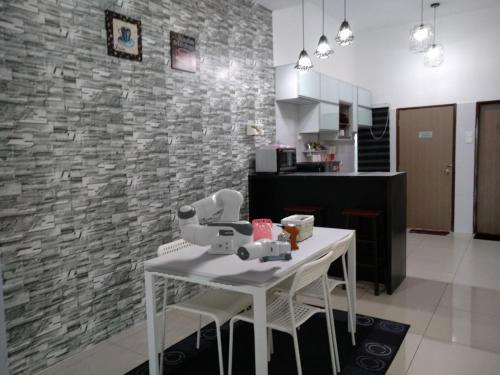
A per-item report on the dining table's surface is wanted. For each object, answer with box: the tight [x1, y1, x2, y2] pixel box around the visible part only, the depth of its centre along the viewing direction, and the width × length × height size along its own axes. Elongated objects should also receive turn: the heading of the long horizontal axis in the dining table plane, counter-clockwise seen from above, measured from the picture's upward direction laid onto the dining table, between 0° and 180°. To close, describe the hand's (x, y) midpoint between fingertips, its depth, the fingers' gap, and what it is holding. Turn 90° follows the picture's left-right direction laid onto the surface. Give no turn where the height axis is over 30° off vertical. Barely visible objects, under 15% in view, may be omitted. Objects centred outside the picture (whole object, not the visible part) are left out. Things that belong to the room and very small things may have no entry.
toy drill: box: [276, 224, 300, 251], centre depth 246 cm, size 5×19×15 cm, turn 44°
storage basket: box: [280, 214, 315, 242], centre depth 273 cm, size 24×16×15 cm
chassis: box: [259, 250, 293, 262], centre depth 225 cm, size 18×14×4 cm
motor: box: [277, 232, 288, 255], centre depth 209 cm, size 5×5×11 cm
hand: (283, 242), depth 209 cm, fingers closed on motor, 5 cm apart
